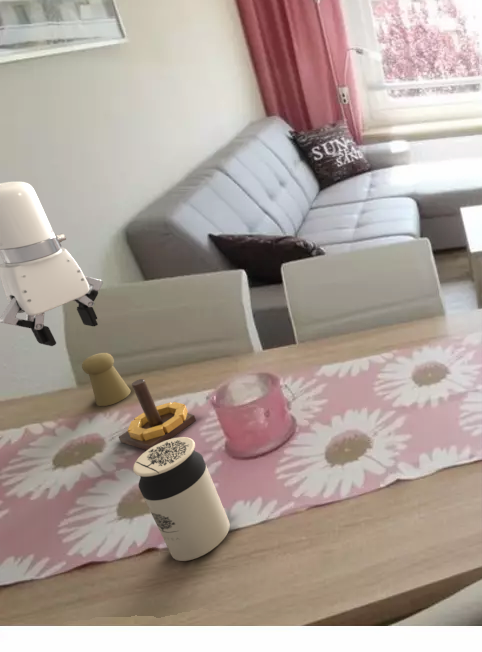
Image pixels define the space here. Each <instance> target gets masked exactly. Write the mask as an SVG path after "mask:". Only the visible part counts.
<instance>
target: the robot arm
mask: <svg viewBox="0 0 482 652" xmlns="http://www.w3.org/2000/svg"><path fill="white" fill-rule="evenodd" d="M36 192H37V191H35V189H34V187H33V186H32V185H31V184H30V183H28V182H25V181H6V182H0V258H1V260H2V262H3V263H1V264H0V282H1V285H2V288H3V292H4V294H5V297H6V299H7V302H8V305H7V306H6V308H5V310H4V311H3V313H2V314H1V316H0V323H1V324H6V325H11V326H15V327H16V326H17V327H21V328H22V327H23V328H26V329H31V332H32V334H33V336H34V338H35V340H36V341H37V342H38V344H40V345H44V346H49V347H54V346H56V344H57V341H56V339H55V337H54V335H53V333H52V331H51V329H50V327H49V326H46V325H44V323H45V321H44V320H45V313H47V312H49V311H51V310H53V309H56V308H59V307H60V306H63V305H66V304H68V303H71V302H74V303H76V304H77V305H78V306H76V311H77V313H78V315H79V317H80V319H81V322H82V324H83V325H85V326H89V327H97V326H99V324H98V322H97V320H98V316H97V313H96V312H95V309H94V306H95V300H96V298H97V297H98V295H99V291H100V290H101V288H102V286H103V284H104V281H103V280H102V279H97V278H94V277H90V276H87V275H85V274H84V273H83V271H82V269H81V267H80V266H79V264H78V262H77V261H76V260H75V259H74V257H73V256H72V255H71V253H70V252H69V251H68V250H67V248H65V247H63V246H62V244H61V243H62V242H63V241H66V240H67V237H66V235H65V234H64V233H59V234H57V233H55V232H54V229H53V228H52V225H51V223H50V221H49V219H48V217H47V214H46V213H45V210H44V207H43V206H42V203H41V201H40V199H39V197H38V195H37V193H36ZM22 313H25V319H23V318H18V317H17V314H22Z"/></svg>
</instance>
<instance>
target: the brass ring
mask: <svg viewBox="0 0 482 652" xmlns="http://www.w3.org/2000/svg"><path fill="white" fill-rule="evenodd" d="M155 406H156V408H157V410H158V413H159V415H160V416H161V415H164V414H168V413H173V414H175V415H174V417H172V418H171V419H169V420H168V421H166V422H165V423H163V424H162V425H158V426H155V427H152V428H148V429H144V428H142V427H143V425H144V424H146V423H147V422H148V420H147V418H146V416H145V414H144V412H142V413H140V414H139V415H138V416H137V415H136V417H134V418H133V420H131V421H130V424H129V426H128V428H127V430H126V432H127V431H128V433H129V435H130V437H131V438H133V439H137V440H140V441H143V440H144V439H145V441H146V440H149V439H153V438H156V437H159V436H163V435H165V432H166V433H169V432H170V431H172V430H173V429H175V428H176V427H178V426H179V425H180V424H182V423H183V421H185V419H186V416H187V413H188V412H189V410H188V408H187V406H186V404H185V403H181V402H176V401H173V402H171V401H170V402H166V403H163V404H159V405H155Z"/></svg>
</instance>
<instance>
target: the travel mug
mask: <svg viewBox="0 0 482 652" xmlns="http://www.w3.org/2000/svg"><path fill="white" fill-rule="evenodd" d="M195 448H196V443H195V440H194V439H192V438H190V437H187V436H180V437H172V438H171V439H169V440H166V441H163V442H161V443H159V444H157V445H155V446H153V447H151V448H150V449H148V450H146V451H144V452H143V453H142V454H140V455H139V457H138V458H137V459H136V460H135V462H134V464H133V467H132V471H133V473H134V475H136V476H139V477H140V478H139V481H138V489H139V491H140V493H141V495H142V498H143V499H144V501H145V503H146V505H147V508H148V510H149V512H150V514H151V516H152V518H153V521H154V522H155V524H156V526H157V528H158V531H159V532H160V535H161V537H162V538H163V541H164V543H165V545H166V547H167V550H168V551H169V553H170V555H171V557H172V558H173V559H174V560H176V561H180V562H187V561H191V560H195V559H198V558H200V557H202V556H204V555H206V554H208V553H210V552H211V551H212V550H214V549H215V548H216V547H217V546H219V545H220V544H221V543H222V542H223V540H225V538H226V537H227V535H228V533H229V531H230V529H231V528H230V527H231V523H230V520H229V518H228V515H227V512H226V510H225V508H224V506H223V503H222V501H221V498H220V496H219V494H218V491H217V488H216V487H215V484H214V481H213V479H212V476H211V474H210V472H209V471H210V470H209V469H208V467H207V466H208V465H207V463H206V462H205V459H204V456H203V455H202V453H200V452H198V451H197V450H195Z"/></svg>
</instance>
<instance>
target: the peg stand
mask: <svg viewBox="0 0 482 652" xmlns="http://www.w3.org/2000/svg"><path fill="white" fill-rule="evenodd" d="M131 386H132V389H133V391H134V393H135V396H136V398H137V400H138V402H139V405H140V407H141V409H142V411H143V413H144V414H145V416H146V418H147V420H148V422H147V423H146V424H144V425H143V427H142V428H144V429H148V428H152V427H155V426H158V425H162V424H163V423H165V422H166V421H168V420H169V419H171V418H172V417H174V415H175V414H173V413H168V414H164V415H161V416H160V415H159V413H158V410H157V408H156V406H157V405H156V403H155V401H154V399H153V396H152V394H151V392H150V390H149V388H148V385H147V383H146V381H145V379H144V378H143V379H142V378H140V379H136V380H135V381H133V382H132V383H131ZM196 421H197V419H196V417H195V415H194V414H192V413H188V412H187V416H186V419H185V421H183V423H182V424H180V425H179V426H178V427H176V428H175V429H173V430H172V431H170V432H169V433H166V432H165V435H163V436H159V437H156V438H153V439H149V440H146V441H145V439H144V440H143V441H140V440H137V439H133V438H131V437H130V435H129V433H128V431H127V430H126V431H125V432H123V433H122V434H120V435H119V436H118V440H119V441H120V443H122V444H124V445H128V446H133V447H135V448H138V449H143V450H146V451H147V450H148V449H150V448H151V447H153V446H155V445H157V444H159V443H161V442H163V441H166V440H169V439H173V438H174V437H175V436H176V435H178V434H179V433H181V432H182V431H183V430H185V429H187V427H189V426H190V425H192V424H193V423H195V422H196Z"/></svg>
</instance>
